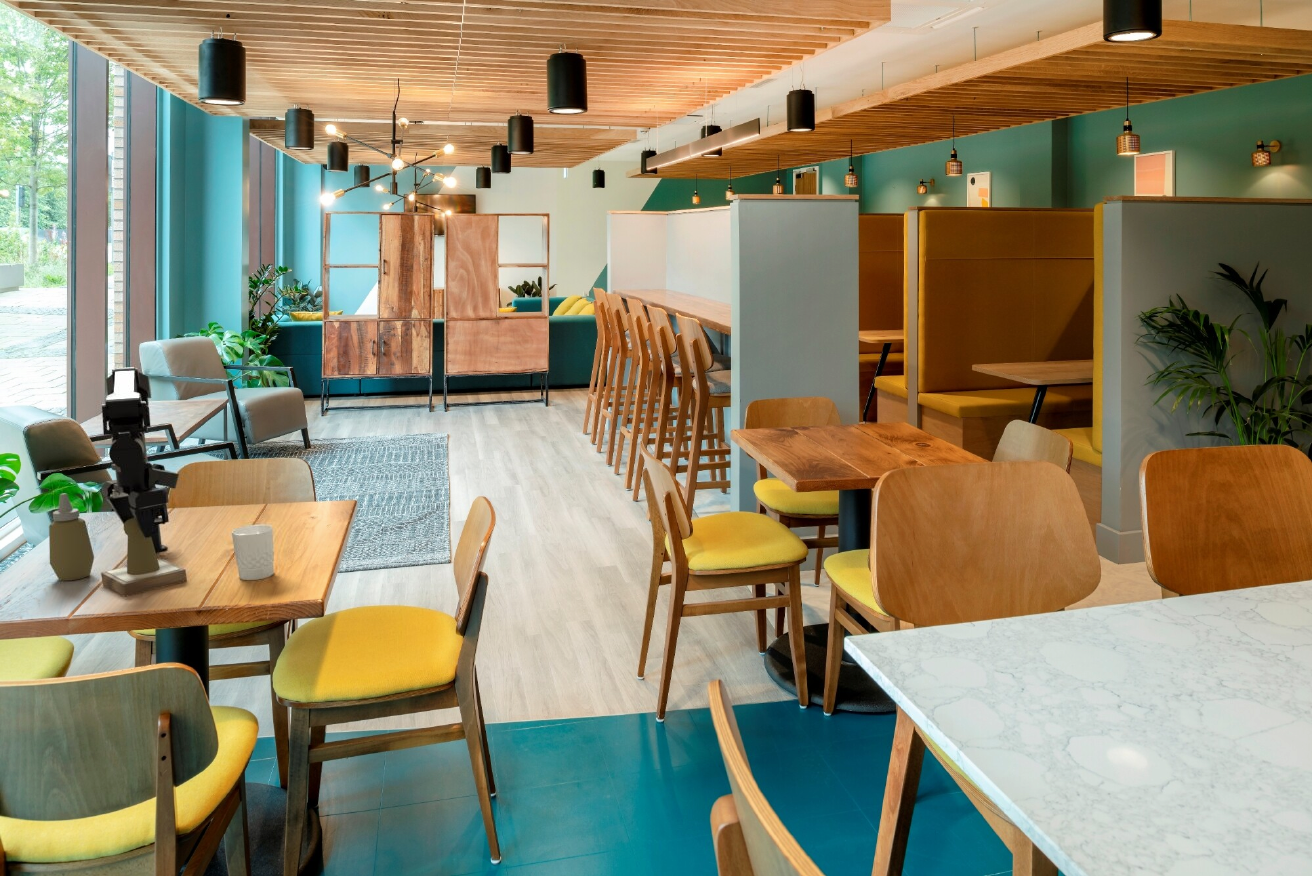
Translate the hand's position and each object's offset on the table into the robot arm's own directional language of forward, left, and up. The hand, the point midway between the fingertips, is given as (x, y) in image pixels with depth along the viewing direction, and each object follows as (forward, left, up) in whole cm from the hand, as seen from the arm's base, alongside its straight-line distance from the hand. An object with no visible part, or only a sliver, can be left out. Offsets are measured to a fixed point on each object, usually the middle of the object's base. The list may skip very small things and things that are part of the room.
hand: (139, 533), depth 198 cm
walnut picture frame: (0, 0, -10) cm, 10 cm away
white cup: (+14, +17, -11) cm, 24 cm away
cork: (0, 0, -8) cm, 8 cm away
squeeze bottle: (-16, -8, -11) cm, 21 cm away
